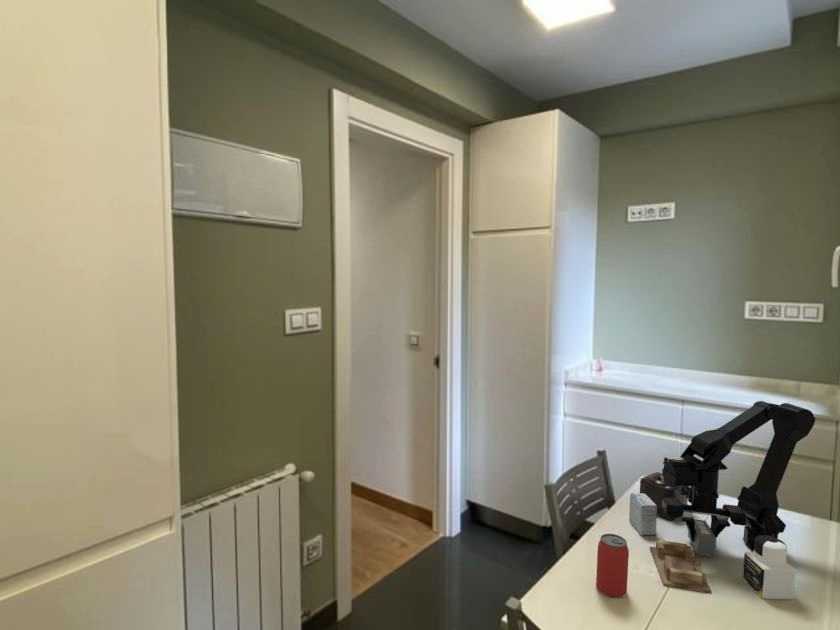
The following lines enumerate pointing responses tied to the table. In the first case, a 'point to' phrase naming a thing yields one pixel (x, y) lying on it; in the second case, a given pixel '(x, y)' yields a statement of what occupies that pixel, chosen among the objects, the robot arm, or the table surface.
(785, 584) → the medicine bottle
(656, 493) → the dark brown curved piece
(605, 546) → the beer can
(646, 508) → the medicine box
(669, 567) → the cradle board
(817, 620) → the table surface
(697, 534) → the power strip
